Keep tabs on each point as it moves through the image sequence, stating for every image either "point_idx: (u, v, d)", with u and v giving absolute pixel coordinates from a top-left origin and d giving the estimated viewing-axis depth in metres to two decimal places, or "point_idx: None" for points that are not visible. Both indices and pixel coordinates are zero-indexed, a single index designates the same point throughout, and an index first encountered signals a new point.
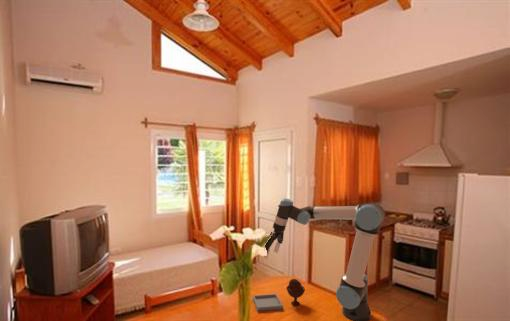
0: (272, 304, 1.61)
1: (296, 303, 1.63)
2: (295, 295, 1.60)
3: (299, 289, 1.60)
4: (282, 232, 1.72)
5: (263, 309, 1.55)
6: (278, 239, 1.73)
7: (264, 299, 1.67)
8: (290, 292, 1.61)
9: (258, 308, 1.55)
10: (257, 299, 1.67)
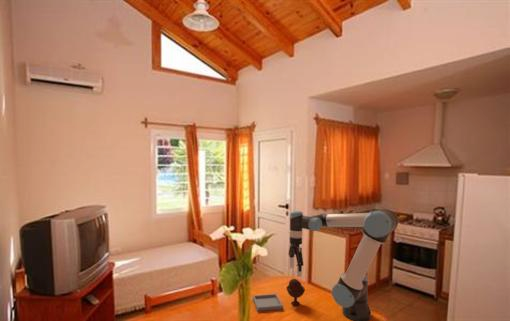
0: (272, 304, 1.61)
1: (296, 303, 1.63)
2: (295, 295, 1.60)
3: (299, 289, 1.60)
4: None
5: (263, 309, 1.55)
6: (292, 254, 1.71)
7: (264, 299, 1.67)
8: (290, 292, 1.61)
9: (258, 308, 1.55)
10: (257, 299, 1.67)
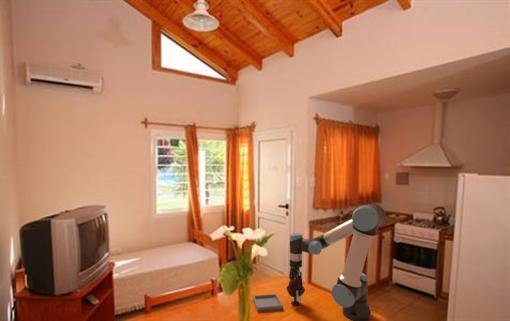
0: (272, 304, 1.61)
1: (296, 303, 1.63)
2: (295, 295, 1.60)
3: None
4: None
5: (263, 309, 1.55)
6: (293, 277, 1.69)
7: (264, 299, 1.67)
8: (290, 292, 1.61)
9: (258, 308, 1.55)
10: (257, 299, 1.67)
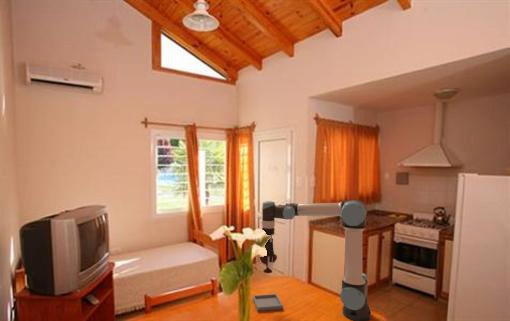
0: (272, 304, 1.61)
1: (268, 270, 1.62)
2: (267, 262, 1.60)
3: None
4: None
5: (263, 309, 1.55)
6: (266, 246, 1.69)
7: (264, 299, 1.67)
8: (262, 259, 1.61)
9: (258, 308, 1.55)
10: (257, 299, 1.67)
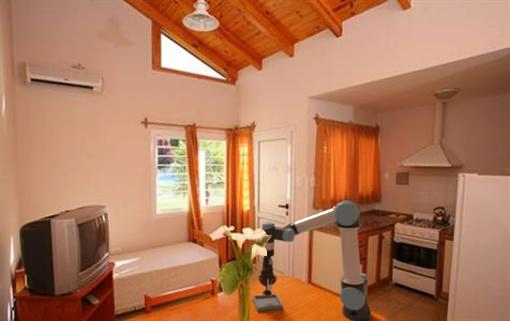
0: (272, 304, 1.61)
1: (267, 292, 1.62)
2: (266, 284, 1.59)
3: None
4: None
5: (263, 309, 1.55)
6: (265, 267, 1.68)
7: (264, 299, 1.67)
8: (261, 281, 1.60)
9: (258, 308, 1.55)
10: (257, 299, 1.67)
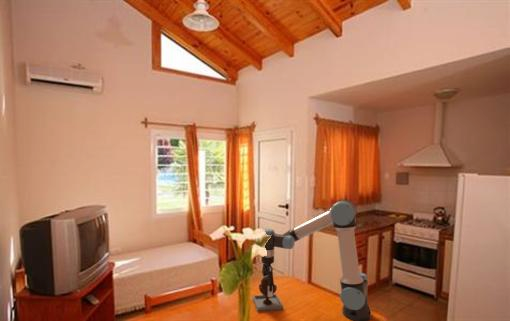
0: (272, 304, 1.61)
1: (268, 301, 1.62)
2: (266, 293, 1.59)
3: None
4: None
5: (263, 309, 1.55)
6: (265, 272, 1.69)
7: (264, 299, 1.67)
8: (261, 290, 1.60)
9: (258, 308, 1.55)
10: (257, 299, 1.67)
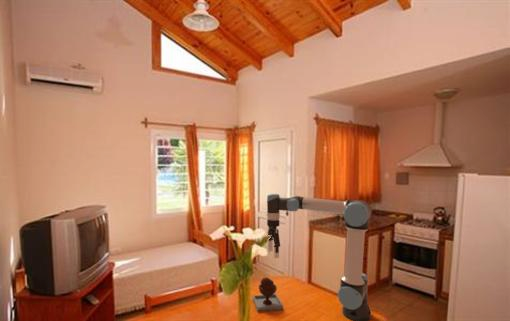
0: (272, 304, 1.61)
1: (268, 302, 1.62)
2: (266, 294, 1.59)
3: (270, 288, 1.59)
4: None
5: (263, 309, 1.55)
6: None
7: (264, 299, 1.67)
8: (261, 291, 1.60)
9: (258, 308, 1.55)
10: (257, 299, 1.67)
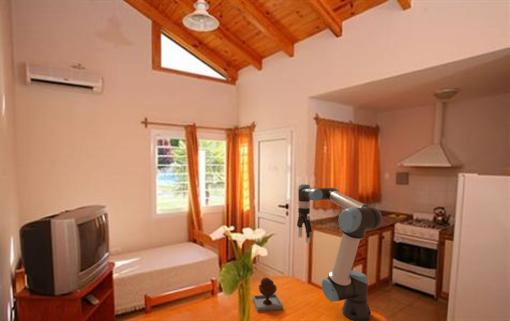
0: (272, 304, 1.61)
1: (268, 302, 1.62)
2: (266, 294, 1.59)
3: (270, 288, 1.59)
4: None
5: (263, 309, 1.55)
6: (300, 224, 1.86)
7: (264, 299, 1.67)
8: (261, 291, 1.60)
9: (258, 308, 1.55)
10: (257, 299, 1.67)
